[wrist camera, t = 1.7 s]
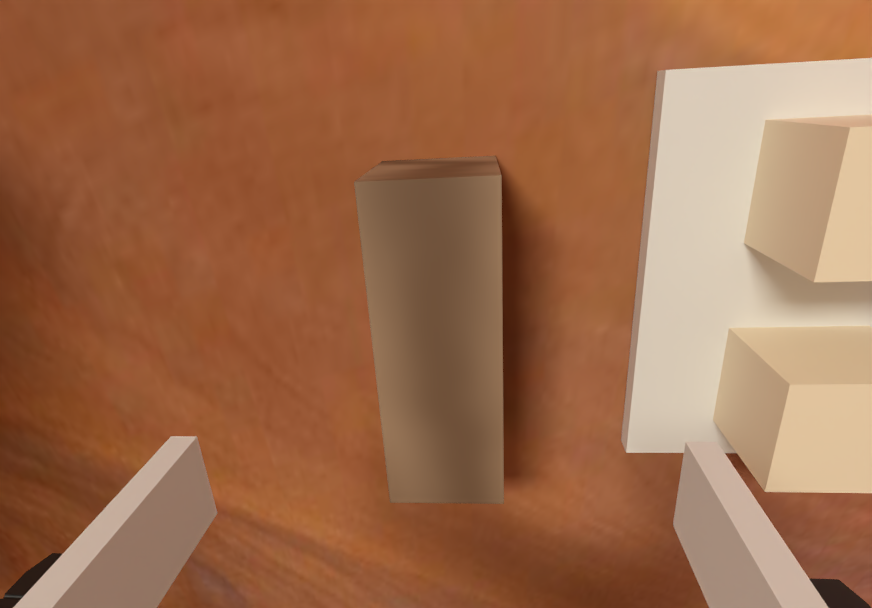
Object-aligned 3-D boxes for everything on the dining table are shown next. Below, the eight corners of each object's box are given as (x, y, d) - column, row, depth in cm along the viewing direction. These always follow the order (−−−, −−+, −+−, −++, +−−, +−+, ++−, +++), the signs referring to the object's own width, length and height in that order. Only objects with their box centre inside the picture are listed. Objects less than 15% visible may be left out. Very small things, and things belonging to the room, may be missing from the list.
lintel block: (406, 422, 28) (390, 502, 23) (383, 160, 23) (354, 181, 18) (498, 422, 28) (503, 503, 22) (495, 155, 23) (501, 175, 17)
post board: (621, 440, 28) (657, 528, 22) (657, 71, 21) (722, 62, 15) (903, 441, 26) (1016, 533, 21) (1039, 48, 20) (1260, 31, 14)
